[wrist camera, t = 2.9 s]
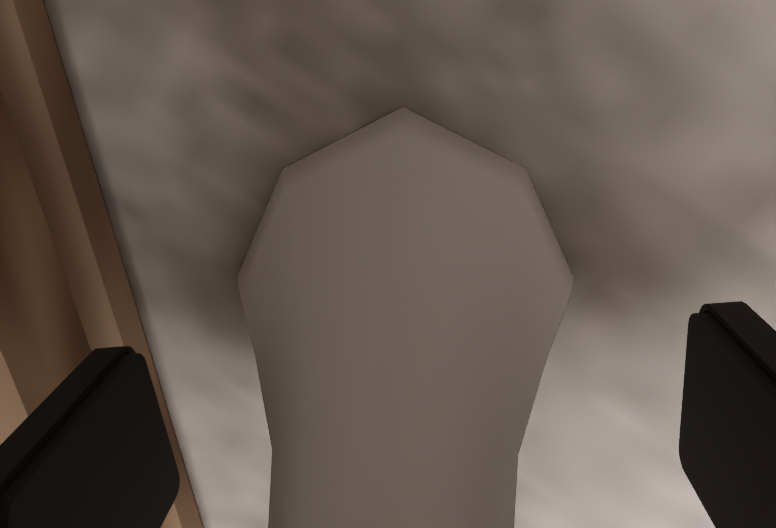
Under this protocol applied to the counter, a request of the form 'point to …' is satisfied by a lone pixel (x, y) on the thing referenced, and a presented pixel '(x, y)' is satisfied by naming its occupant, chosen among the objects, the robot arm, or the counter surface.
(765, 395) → the robot arm
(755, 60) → the counter surface
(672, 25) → the counter surface
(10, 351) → the wooden crate tray
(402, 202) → the flask
